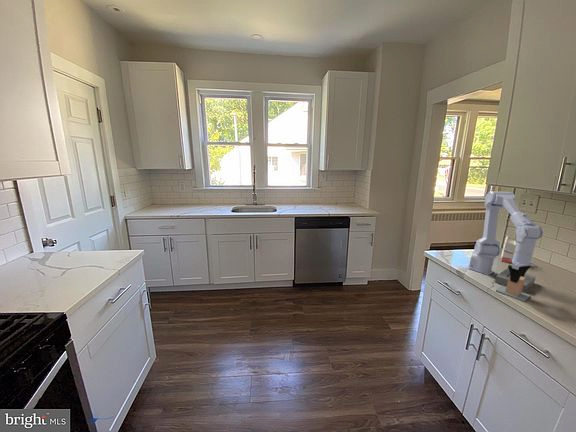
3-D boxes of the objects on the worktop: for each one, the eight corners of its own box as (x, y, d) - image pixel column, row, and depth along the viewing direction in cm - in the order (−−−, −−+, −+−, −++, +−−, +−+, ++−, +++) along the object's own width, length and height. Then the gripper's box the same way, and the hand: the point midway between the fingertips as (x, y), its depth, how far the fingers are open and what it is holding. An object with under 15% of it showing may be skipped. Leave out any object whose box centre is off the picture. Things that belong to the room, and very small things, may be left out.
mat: (495, 291, 113) (496, 290, 113) (502, 286, 117) (502, 285, 117) (524, 301, 105) (524, 300, 105) (530, 296, 109) (530, 295, 109)
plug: (505, 291, 112) (509, 276, 110) (508, 289, 114) (512, 273, 112) (517, 296, 108) (522, 280, 106) (521, 293, 110) (525, 277, 108)
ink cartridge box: (512, 263, 143) (518, 240, 140) (501, 261, 146) (506, 238, 143) (511, 259, 150) (516, 236, 146) (500, 257, 153) (506, 234, 149)
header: (494, 282, 121) (496, 275, 120) (505, 274, 130) (507, 268, 129) (524, 292, 112) (525, 285, 112) (534, 283, 121) (535, 276, 120)
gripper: (531, 258, 99) (523, 288, 102) (541, 251, 107) (533, 279, 110) (509, 252, 105) (502, 281, 108) (519, 246, 113) (512, 273, 116)
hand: (516, 279), depth 110 cm, fingers open, 6 cm apart
